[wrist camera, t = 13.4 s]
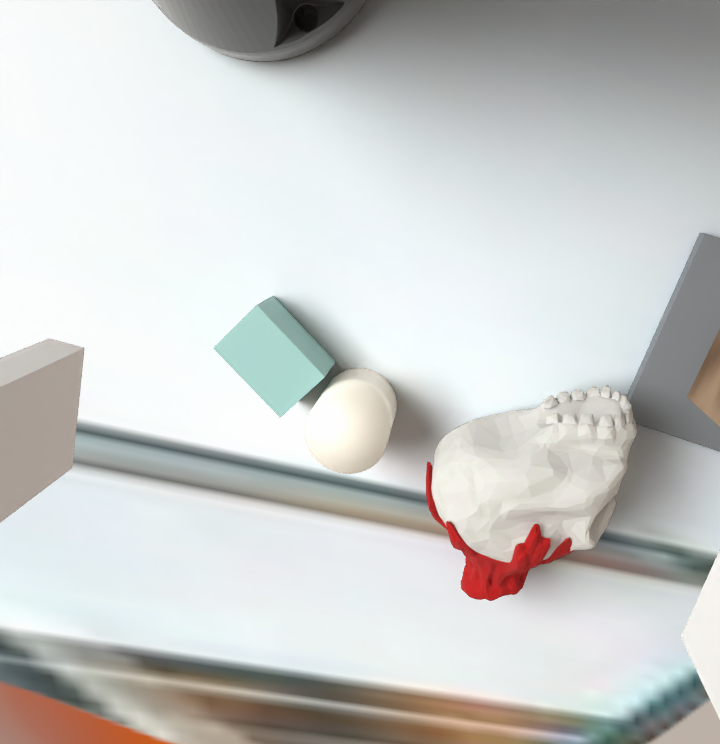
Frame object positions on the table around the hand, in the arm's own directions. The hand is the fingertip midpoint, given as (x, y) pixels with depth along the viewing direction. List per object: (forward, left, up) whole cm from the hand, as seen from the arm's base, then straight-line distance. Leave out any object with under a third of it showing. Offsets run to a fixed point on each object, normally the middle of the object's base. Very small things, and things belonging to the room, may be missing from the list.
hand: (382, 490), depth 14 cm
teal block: (+7, -8, -31) cm, 33 cm away
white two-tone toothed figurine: (+10, +9, -31) cm, 34 cm away
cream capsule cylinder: (+9, -2, -31) cm, 32 cm away
